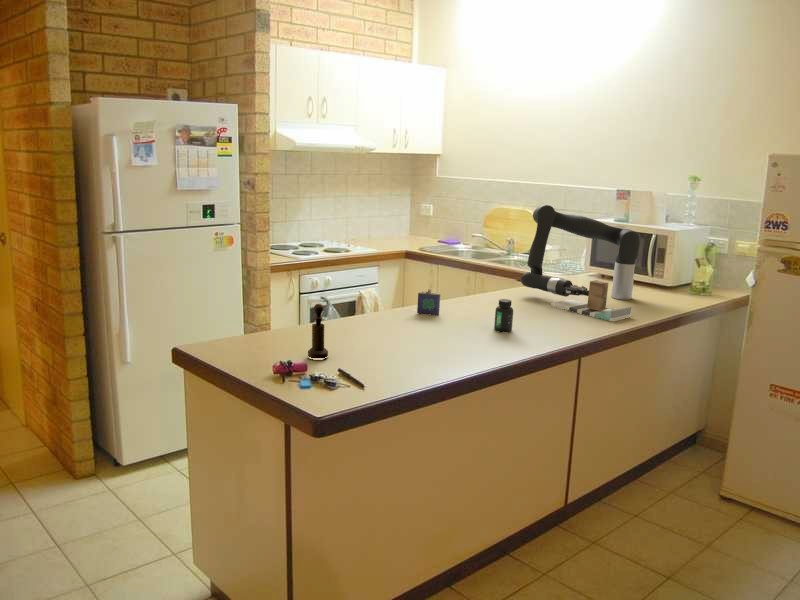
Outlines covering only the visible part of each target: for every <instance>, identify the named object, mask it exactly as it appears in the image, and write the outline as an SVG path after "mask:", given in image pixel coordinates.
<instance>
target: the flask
mask: <svg viewBox="0 0 800 600" xmlns="http://www.w3.org/2000/svg"><path fill="white" fill-rule="evenodd" d="M440 302H441V293H438V292H437V293H433V292H432V289H431V288H428V290H427V291H422V292H418V293H417V307H416V308H417V310H416V314H417V313H419V314H418V315H421V314H431V315H430V316H439V315H440V308H441V307H440V305H441V303H440Z"/></svg>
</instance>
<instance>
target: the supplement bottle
mask: <svg viewBox="0 0 800 600" xmlns="http://www.w3.org/2000/svg"><path fill="white" fill-rule="evenodd" d="M512 301H513V300H511V299H508V298H507V299H506V298H499V299H498V306H496V307H495V311H494V312H495V314H494V326H493V330H494V331H495V332H497V331H499V332H498V333H502V332H508V333H511V332H512V330H513V322H514V321H513V320H514V309H513V307H512Z"/></svg>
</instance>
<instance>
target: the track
mask: <svg viewBox="0 0 800 600" xmlns="http://www.w3.org/2000/svg"><path fill="white" fill-rule="evenodd" d="M587 304H588V302H582V301H578V300H574V299H565V300H560V301H556V302H555V301H554V302H551V303H550V307H552V306H553V308H556V307H557V308H556V309H560V308H561V310H564V309H565V310H564V311H568V310H569V311H568V312H572V311H573V313H575V312H576V314H579V315H580V314H581V315H583V314H584V315H583V316H587V315H588V317H591V316H592V317H591V318H595V317H596V318H595V319H599V318H601V319H600V320H603V319H604V321H607V320H608V322H611V321H613V322H616V321H621V320H625V318H626V319H629V317H630V318H631V312H632V306H627V307H622V308H617V309H610V308H608V307H606V309H605V310H601V311H597V310H593V309H589V308H587Z"/></svg>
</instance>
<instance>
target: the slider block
mask: <svg viewBox="0 0 800 600" xmlns="http://www.w3.org/2000/svg"><path fill="white" fill-rule="evenodd" d="M608 290H609V282H607V281H602V280H598V279H597V280H590V281H589V289H588V291H589V295H588V296H587V297H588V299H587V308H589V309H593V310H597V311H601V310H605V309H606V308H607V301H608V300H607V299H608Z"/></svg>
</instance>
